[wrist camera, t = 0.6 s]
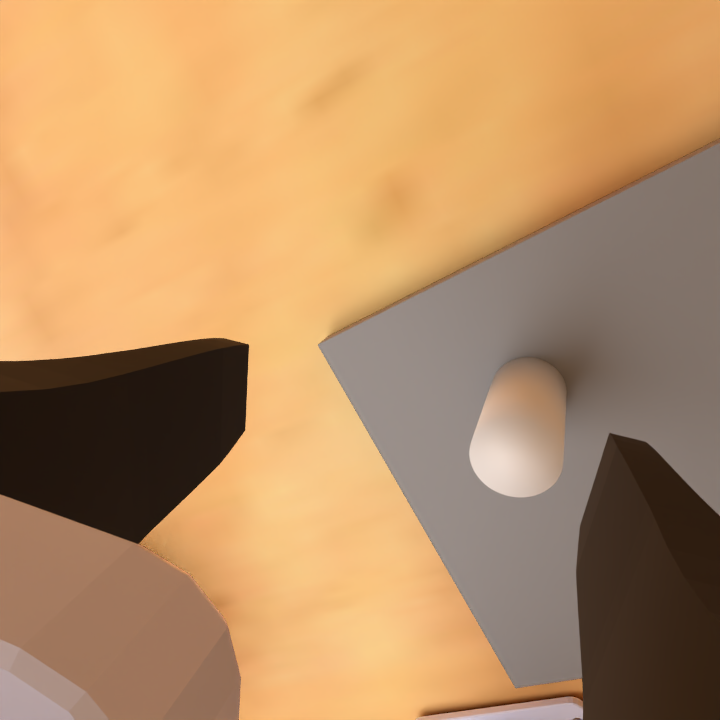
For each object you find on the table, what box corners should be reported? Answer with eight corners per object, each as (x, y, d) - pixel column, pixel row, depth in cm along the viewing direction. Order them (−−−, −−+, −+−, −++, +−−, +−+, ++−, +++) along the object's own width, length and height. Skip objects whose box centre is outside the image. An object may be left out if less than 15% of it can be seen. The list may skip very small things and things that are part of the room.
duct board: (1206, 555, 16) (1476, 738, 11) (517, 668, 25) (502, 798, 20) (1016, -12, 14) (1256, -89, 9) (328, 336, 23) (258, 393, 18)
